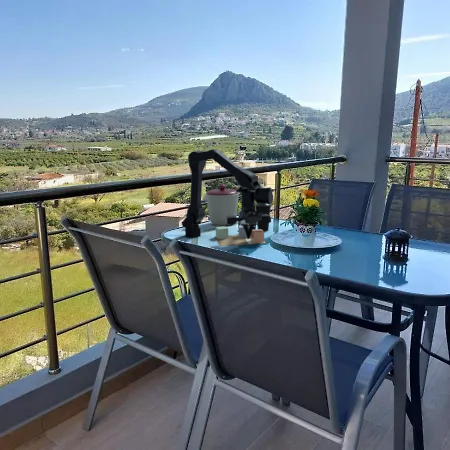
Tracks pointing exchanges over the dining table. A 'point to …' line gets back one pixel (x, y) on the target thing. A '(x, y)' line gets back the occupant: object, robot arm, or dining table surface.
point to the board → (236, 240)
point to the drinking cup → (265, 210)
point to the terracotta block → (258, 235)
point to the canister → (222, 204)
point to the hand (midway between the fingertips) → (248, 238)
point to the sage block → (222, 232)
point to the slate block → (241, 232)
